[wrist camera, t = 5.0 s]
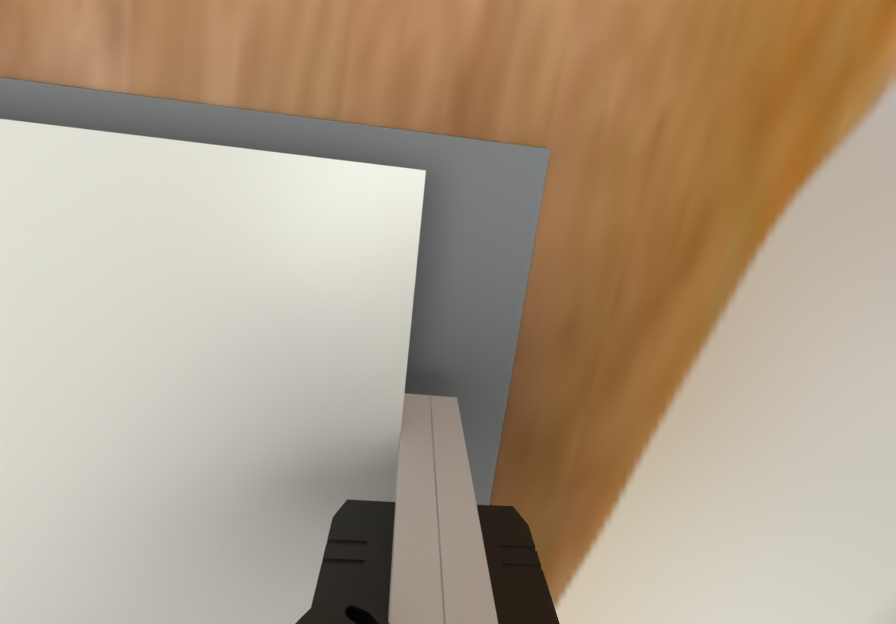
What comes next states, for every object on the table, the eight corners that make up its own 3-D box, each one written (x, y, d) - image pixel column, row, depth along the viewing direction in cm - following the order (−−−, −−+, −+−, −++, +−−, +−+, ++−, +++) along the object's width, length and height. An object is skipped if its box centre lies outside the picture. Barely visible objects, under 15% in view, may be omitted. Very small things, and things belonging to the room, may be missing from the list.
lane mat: (474, 576, 18) (475, 583, 17) (-233, 554, 15) (-245, 561, 15) (547, 149, 13) (550, 149, 13) (-455, 19, 11) (-480, 15, 10)
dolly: (385, 561, 17) (375, 693, 12) (-125, 544, 15) (-334, 689, 11) (422, 170, 13) (425, 171, 8) (-274, 86, 11) (-703, 33, 7)
